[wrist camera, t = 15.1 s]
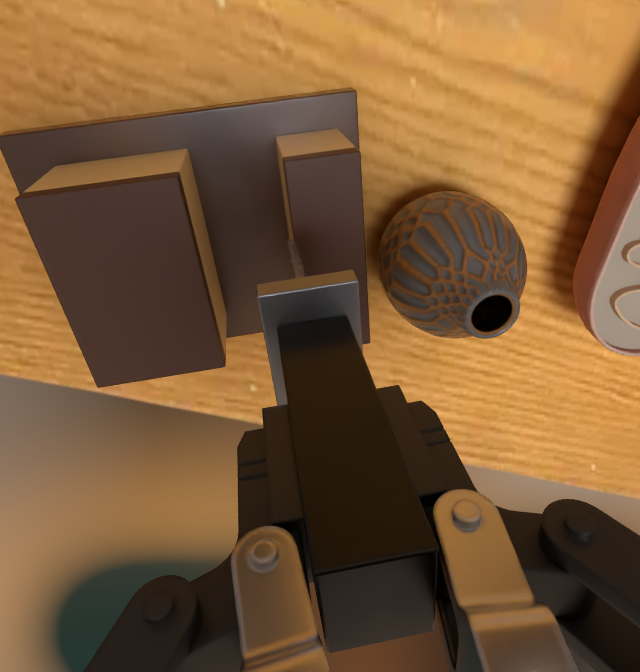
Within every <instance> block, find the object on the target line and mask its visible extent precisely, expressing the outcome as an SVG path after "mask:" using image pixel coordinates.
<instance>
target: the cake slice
mask: <svg viewBox="0 0 640 672" xmlns="http://www.w3.org/2000/svg"><path fill="white" fill-rule="evenodd" d="M275 141H276V148H277V155H278V162H279V169H280V176H281V184H282V191H283V198H284V205H285V212H286V219H287V226H288V233H289V240H296V243H297V246H298V250H299V253H300V257H301V260H302V263H303V267H304V270H305V274H306V277H308V276H314V275H321V274H327V273H334V272H340V271H346V270H353V271H354V273H355V275H356V277H357V279H358V283H359V299H360V316H361V332H362V344H368V343H370V328H369V309H368V290H367V271H366V251H365V232H364V213H363V194H362V175H361V155H360V151H359V150H358V149H357V148H356V147H355V146H354V145H353V144H352V143H351V142H350V141H349V140H348V139H347V138H346V137H345V136H344V135H343V134H342V133H341V131H340V130H339V129H337V128H335V129H328V130H320V131H313V132H305V133H298V134H290V135H283V136H277V137H276V138H275Z"/></svg>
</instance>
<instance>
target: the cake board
mask: <svg viewBox="0 0 640 672" xmlns="http://www.w3.org/2000/svg"><path fill="white" fill-rule="evenodd" d="M335 128H337V129H339V130H340V131H341V133H342V134H343V135H344V136H345V137H346V138H347V139H348V140H349V141H350V142H351V143H352V144H353V145H354V146H355V147H356V148H357V149H358V150H359V131H358V112H357V92H356V90H354V89H353V88H346V89H338V90H330V91H322V92H315V93H307V94H299V95H291V96H283V97H276V98H268V99H260V100H252V101H244V102H237V103H229V104H221V105H213V106H205V107H198V108H190V109H182V110H174V111H166V112H158V113H151V114H143V115H135V116H127V117H119V118H112V119H104V120H96V121H88V122H80V123H73V124H65V125H57V126H49V127H41V128H34V129H26V130H18V131H10V132H4V133H2V134H0V149H1V151H2V154H3V156H4V158H5V161H6V163H7V165H8V168H9V170H10V172H11V174H12V177H13V179H14V181H15V184H16V186H17V188H18V191H19V193H20V194H21V193H23V192H24V191H25V190H27V189H28V188H29V187H30V186H32V185H33V184H34V183H35V182H37V181H38V180H39V179H40V178H41V177H43V176H44V175H45V174H46V173H48V172H49V171H50V170H51V169H53V168H54V167H55V166H58V165H65V164H73V163H80V162H88V161H95V160H103V159H110V158H118V157H125V156H133V155H140V154H148V153H155V152H163V151H170V150H178V149H185V148H186V149H188V151H189V155H190V159H191V164H192V168H193V172H194V176H195V181H196V185H197V189H198V194H199V198H200V202H201V206H202V211H203V215H204V219H205V224H206V228H207V232H208V236H209V241H210V245H211V249H212V254H213V258H214V262H215V266H216V271H217V275H218V279H219V284H220V288H221V292H222V296H223V301H224V305H225V309H226V314H227V323H226V338H228V337H235V336H241V335H247V334H254V333H260V332H263V326H262V321H261V316H260V311H259V306H258V300H257V293H256V285H257V284H263V283H270V282H276V281H282V280H289V279H291V273H290V266H289V259H288V252H287V245H286V241H288V240H289V233H288V226H287V219H286V212H285V205H284V198H283V191H282V184H281V176H280V169H279V162H278V155H277V148H276V141H275V138H276V137H277V136H283V135H290V134H298V133H305V132H313V131H320V130H328V129H335ZM359 151H360V150H359Z"/></svg>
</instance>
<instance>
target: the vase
mask: <svg viewBox="0 0 640 672" xmlns="http://www.w3.org/2000/svg"><path fill="white" fill-rule="evenodd" d="M378 269H379V276H380V280H381V283H382V286H383V288H384V291H385V293H386V295H387V297H388V299H389V300H390V302H391V304H392V305H393V307H394V308H395V309H396V310H397V312H398V313H399V314H400V315H401V316H402V317H403V318H404V319H406V320H407V321H408V322H410V323H411V324H412V325H414V326H415V327H417V328H419V329H421V330H423V331H425V332H427V333H429V334H432V335H435V336H439V337H444V338H466V337H472V336H474V337H477V338H483V339H487V338H493V337H496V336H499V335H501V334H503V333H504V332H506V331H507V330H508V329H509V328H510V327H511V326H512V325H513V324H514V323H515V321H516V319H517V317H518V315H519V311H520V301H519V300H520V297H521V295H522V293H523V290H524V286H525V283H526V276H527V260H526V254H525V250H524V246H523V244H522V241H521V239H520V236H519V234H518V232H517V231H516V229H515V227H514V226H513V224H512V223H511V222H510V220H509V219H508V218H507V217H506V216H505V215H504V214H503V213H502V212H501V211H500V210H499V209H497V208H496V207H495V206H493V205H492V204H490V203H489V202H487V201H485V200H483V199H481V198H479V197H477V196H474V195H471V194H468V193H463V192H456V191H442V192H435V193H430V194H427V195H424V196H421V197H419V198H417V199H415V200H413V201H411V202H410V203H408V204H407V205H406V206H404V207H403V208H402V209H401V210H400V211H399V212H398V213H397V214H396V215H395V216H394V217H393V218H392V220H391V221H390V223H389V224H388V226H387V228H386V230H385V232H384V234H383V236H382V239H381V243H380V247H379V254H378Z"/></svg>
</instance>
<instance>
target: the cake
mask: <svg viewBox="0 0 640 672" xmlns="http://www.w3.org/2000/svg"><path fill="white" fill-rule="evenodd" d="M15 201H16V203H17V206H18V208H19V210H20V212H21V215H22V217H23V219H24V222H25V224H26V226H27V228H28V231H29V233H30V235H31V237H32V240H33V242H34V244H35V247H36V249H37V251H38V253H39V256H40V258H41V260H42V262H43V265H44V267H45V269H46V272H47V274H48V276H49V278H50V281H51V283H52V285H53V287H54V290H55V292H56V294H57V297H58V299H59V301H60V303H61V306H62V308H63V310H64V312H65V315H66V317H67V319H68V322H69V324H70V326H71V328H72V331H73V333H74V335H75V337H76V340H77V342H78V344H79V347H80V349H81V351H82V353H83V356H84V358H85V360H86V362H87V365H88V367H89V369H90V372H91V374H92V376H93V378H94V381H95V383H96V385H97V387H98V388H100V387H106V386H112V385H118V384H124V383H130V382H136V381H142V380H149V379H155V378H161V377H167V376H173V375H179V374H185V373H191V372H197V371H204V370H210V369H216V368H222V367H225V362H226V357H225V356H226V323H227V314H226V309H225V305H224V301H223V296H222V292H221V288H220V284H219V279H218V275H217V271H216V266H215V262H214V258H213V254H212V249H211V245H210V241H209V236H208V232H207V228H206V224H205V219H204V215H203V211H202V206H201V202H200V198H199V194H198V189H197V185H196V181H195V176H194V172H193V168H192V164H191V159H190V155H189V151H188V149H186V148H185V149H178V150H170V151H163V152H155V153H148V154H140V155H133V156H125V157H118V158H110V159H103V160H95V161H88V162H80V163H73V164H65V165H58V166H55V167H54V168H53V169H51V170H50V171H49V172H48V173H46V174H45V175H44V176H43V177H41V178H40V179H39V180H38V181H37V182H35V183H34V184H33V185H32V186H30V187H29V188H28V189H27V190H25V191H24V192H23V193H21V194H20V195H19V196H18V197H17V198H15Z"/></svg>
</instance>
